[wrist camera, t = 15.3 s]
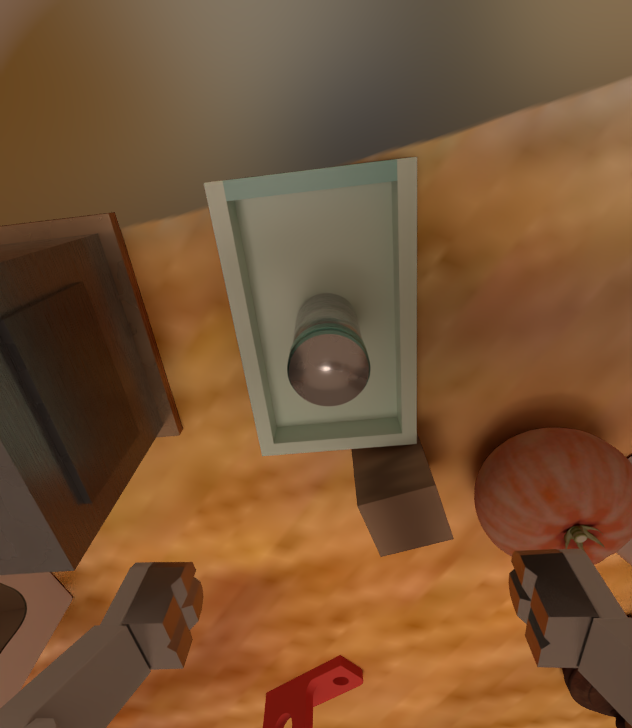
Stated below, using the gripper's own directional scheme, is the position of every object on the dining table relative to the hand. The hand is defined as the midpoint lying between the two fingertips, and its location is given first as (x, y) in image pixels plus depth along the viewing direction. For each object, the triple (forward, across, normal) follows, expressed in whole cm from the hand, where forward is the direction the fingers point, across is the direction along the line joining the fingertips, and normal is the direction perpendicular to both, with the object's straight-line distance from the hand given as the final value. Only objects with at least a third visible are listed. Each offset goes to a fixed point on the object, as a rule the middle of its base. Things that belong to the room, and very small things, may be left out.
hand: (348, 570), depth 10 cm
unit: (+18, +19, 0) cm, 26 cm away
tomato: (+20, -14, +14) cm, 28 cm away
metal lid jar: (+18, +1, 0) cm, 18 cm away
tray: (+19, +1, 0) cm, 19 cm away
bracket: (+19, +7, +45) cm, 49 cm away
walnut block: (+19, -3, +12) cm, 22 cm away
